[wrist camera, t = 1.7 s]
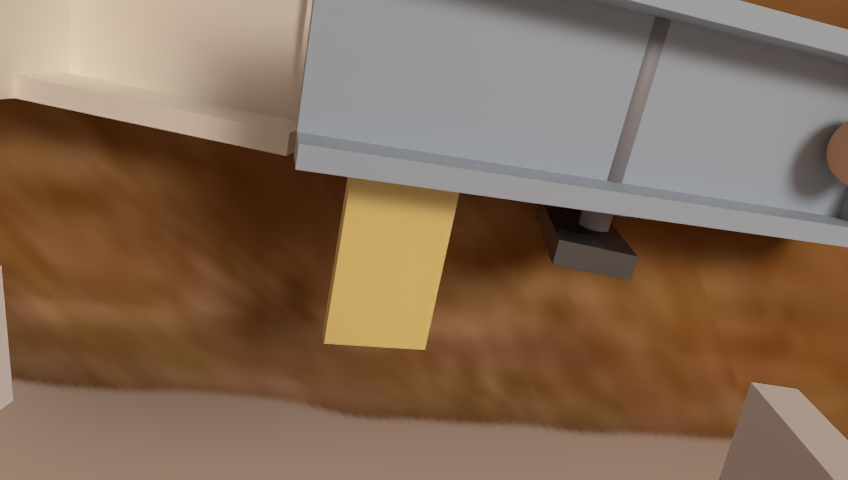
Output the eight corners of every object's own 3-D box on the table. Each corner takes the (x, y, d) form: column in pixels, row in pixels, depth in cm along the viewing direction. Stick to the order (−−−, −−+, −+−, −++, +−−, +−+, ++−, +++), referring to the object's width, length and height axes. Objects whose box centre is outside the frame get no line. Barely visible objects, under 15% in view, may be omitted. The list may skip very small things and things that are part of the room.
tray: (55, 89, 29) (-27, 94, 25) (56, -140, 26) (-37, -184, 22) (311, 143, 29) (278, 159, 24) (342, -82, 26) (312, -114, 21)
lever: (270, 327, 23) (268, 370, 20) (330, -134, 18) (339, -162, 15) (768, 361, 29) (820, 398, 27) (907, 29, 25) (989, 30, 22)
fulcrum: (536, 219, 29) (552, 264, 23) (611, -65, 25) (656, -106, 19) (596, 232, 29) (629, 280, 23) (681, -51, 25) (749, -88, 19)
